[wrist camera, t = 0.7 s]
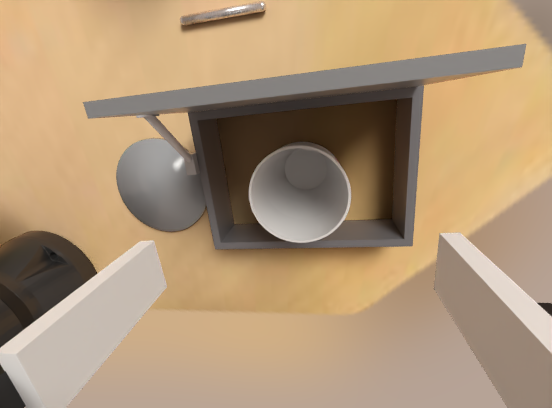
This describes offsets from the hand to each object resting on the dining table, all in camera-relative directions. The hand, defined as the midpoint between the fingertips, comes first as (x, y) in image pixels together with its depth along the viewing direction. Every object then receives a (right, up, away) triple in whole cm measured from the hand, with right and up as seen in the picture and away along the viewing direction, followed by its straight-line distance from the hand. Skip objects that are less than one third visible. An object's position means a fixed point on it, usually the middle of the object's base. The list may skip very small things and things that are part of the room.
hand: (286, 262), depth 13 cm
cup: (+3, +7, +18) cm, 20 cm away
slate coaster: (-15, +5, +22) cm, 27 cm away
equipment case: (+3, +7, +18) cm, 19 cm away
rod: (-6, +21, +14) cm, 26 cm away
